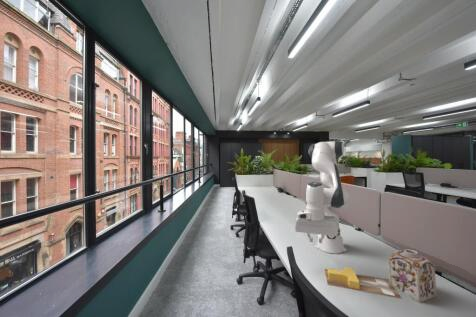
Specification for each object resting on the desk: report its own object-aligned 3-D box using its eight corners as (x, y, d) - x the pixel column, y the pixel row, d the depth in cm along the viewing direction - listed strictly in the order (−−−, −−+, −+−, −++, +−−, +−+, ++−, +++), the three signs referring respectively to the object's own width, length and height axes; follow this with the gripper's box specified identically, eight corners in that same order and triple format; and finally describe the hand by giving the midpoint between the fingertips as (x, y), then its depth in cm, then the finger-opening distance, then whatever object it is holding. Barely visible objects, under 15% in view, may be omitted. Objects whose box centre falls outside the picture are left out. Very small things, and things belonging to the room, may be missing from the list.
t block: (327, 270, 100) (326, 264, 101) (353, 274, 96) (353, 268, 97) (329, 283, 89) (329, 277, 89) (359, 289, 85) (359, 282, 85)
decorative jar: (437, 297, 82) (435, 254, 82) (420, 304, 78) (418, 259, 78) (404, 281, 93) (403, 244, 94) (388, 286, 89) (387, 247, 90)
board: (324, 270, 102) (324, 269, 102) (388, 281, 92) (388, 279, 92) (327, 286, 89) (327, 284, 89) (402, 301, 79) (402, 298, 79)
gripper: (337, 214, 97) (337, 242, 97) (295, 211, 104) (295, 237, 104) (339, 218, 91) (339, 247, 91) (294, 214, 98) (294, 242, 98)
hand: (315, 242), depth 97 cm, fingers open, 3 cm apart
